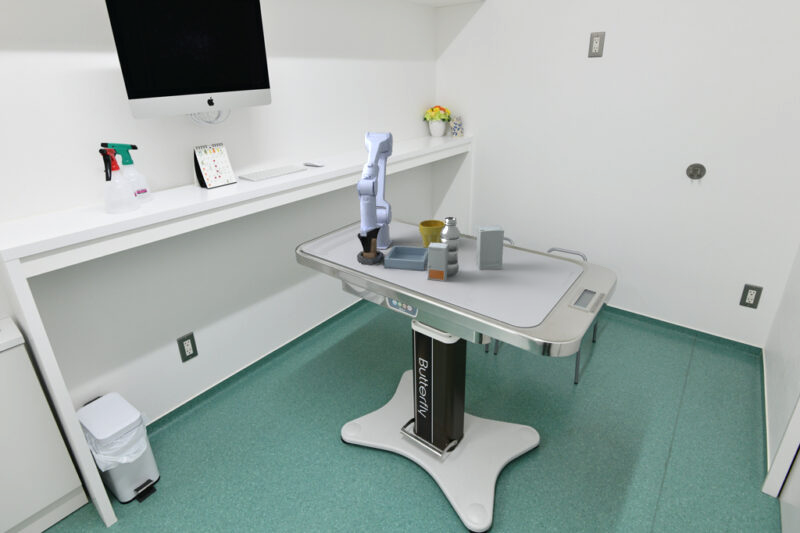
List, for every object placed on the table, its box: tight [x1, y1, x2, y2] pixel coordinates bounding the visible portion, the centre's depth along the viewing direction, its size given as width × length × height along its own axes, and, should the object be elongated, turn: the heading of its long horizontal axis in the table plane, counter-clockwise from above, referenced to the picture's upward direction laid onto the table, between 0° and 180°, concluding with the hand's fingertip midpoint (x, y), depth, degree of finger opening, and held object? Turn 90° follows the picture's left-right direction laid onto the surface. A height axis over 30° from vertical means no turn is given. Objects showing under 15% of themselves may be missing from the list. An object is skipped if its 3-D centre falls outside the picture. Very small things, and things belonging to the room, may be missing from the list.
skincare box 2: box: [476, 224, 505, 271], centre depth 158 cm, size 8×6×15 cm
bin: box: [384, 245, 428, 272], centre depth 165 cm, size 14×14×4 cm
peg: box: [362, 239, 378, 258], centre depth 166 cm, size 4×4×8 cm
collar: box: [356, 249, 385, 266], centre depth 167 cm, size 9×9×2 cm
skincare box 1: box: [427, 242, 448, 282], centre depth 150 cm, size 6×4×12 cm
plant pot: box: [418, 219, 445, 248], centre depth 179 cm, size 10×10×10 cm
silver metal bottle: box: [441, 216, 461, 277], centre depth 151 cm, size 6×7×20 cm
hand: (370, 248), depth 166 cm, fingers open, 7 cm apart
